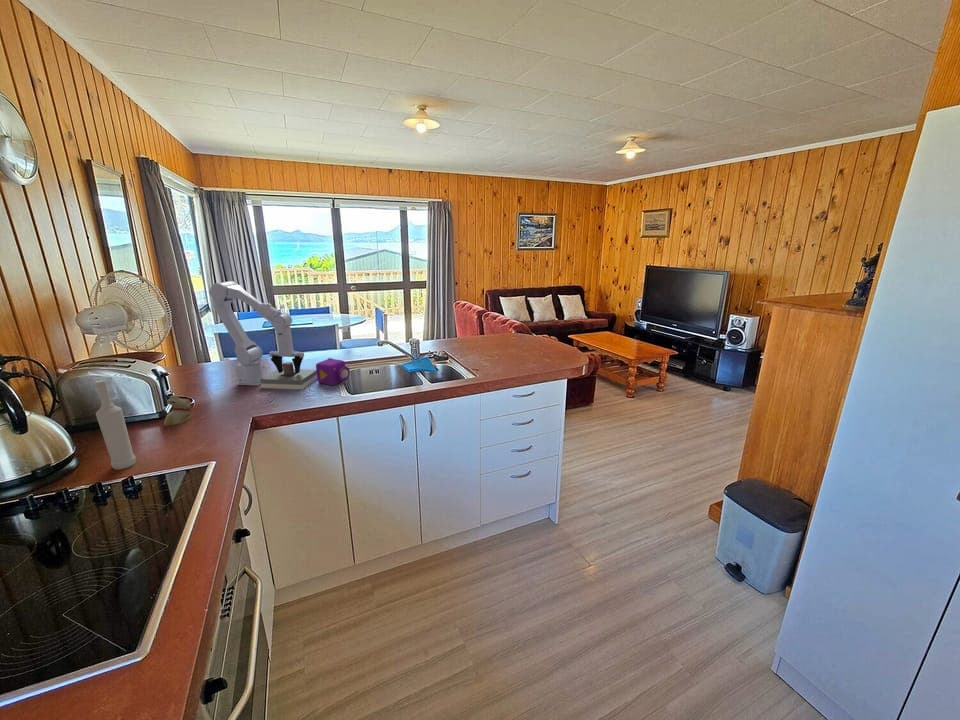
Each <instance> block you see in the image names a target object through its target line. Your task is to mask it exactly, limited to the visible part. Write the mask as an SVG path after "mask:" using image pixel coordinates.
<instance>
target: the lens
mask: <svg viewBox="0 0 960 720" xmlns="http://www.w3.org/2000/svg"><path fill="white" fill-rule="evenodd" d="M282 366H283V371H284V376H287V377H293V376H294V369H295V367H294V363H293V361H288V362H287V361H286V362H284V363H283V362H282Z"/></svg>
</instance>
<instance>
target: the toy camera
mask: <svg viewBox="0 0 960 720" xmlns="http://www.w3.org/2000/svg"><path fill="white" fill-rule="evenodd" d="M315 370H316V372H317V379H316V380H317V382H318V383H319V384H325V385H328V386H335V385H337V384H339V383H342V382H347V381H348V379H349V378H350V374H351V371H350V368H349V367H348V366H346V362H345V361H344V360H342V359H336V358H333V357H328V358H327V359H325V360H322V361H319V362H317V363H316V364H315Z"/></svg>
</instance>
